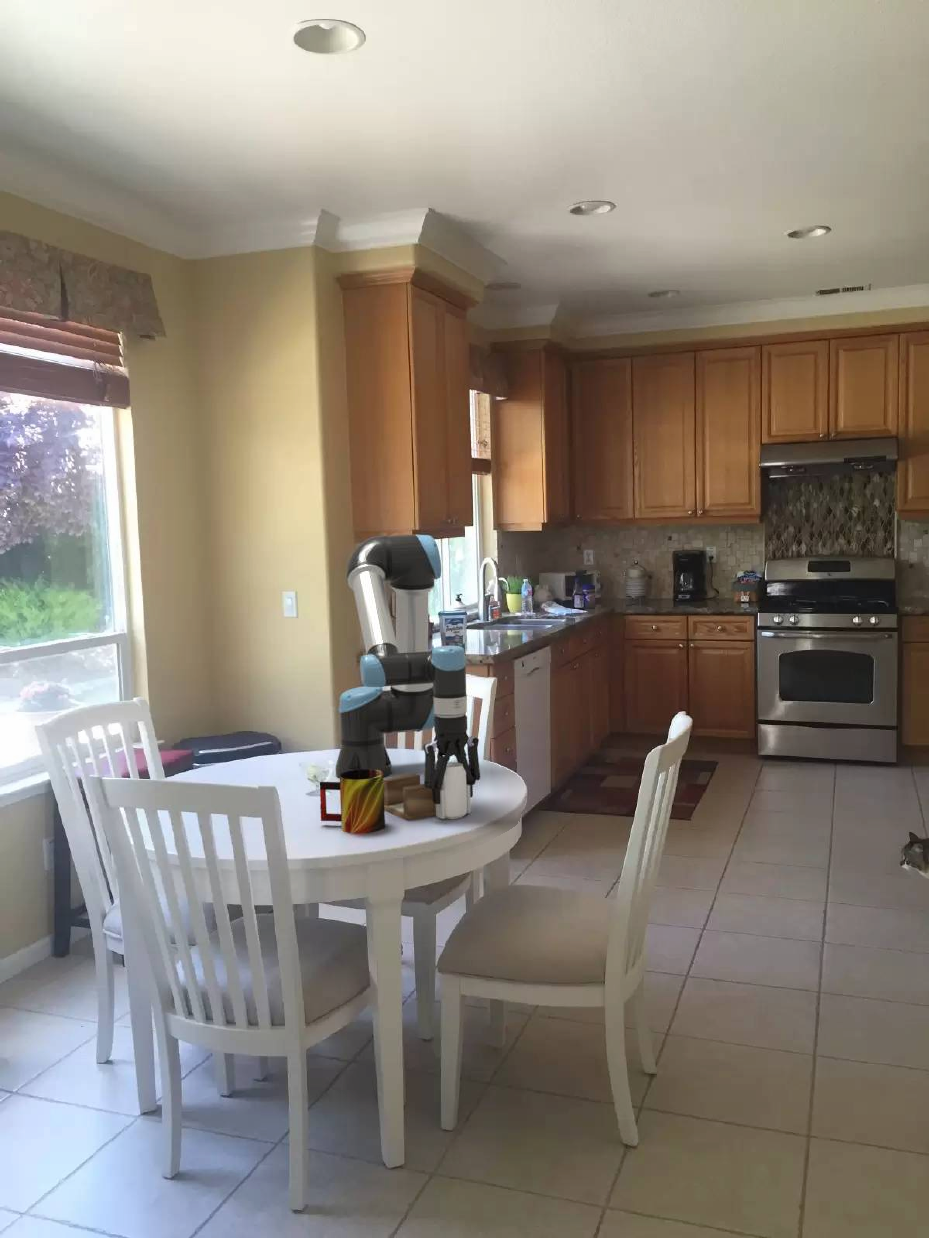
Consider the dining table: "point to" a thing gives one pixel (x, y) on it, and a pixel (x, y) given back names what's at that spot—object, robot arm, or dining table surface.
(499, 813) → the dining table surface
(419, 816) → the post bracket
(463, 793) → the beverage can
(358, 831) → the mug
